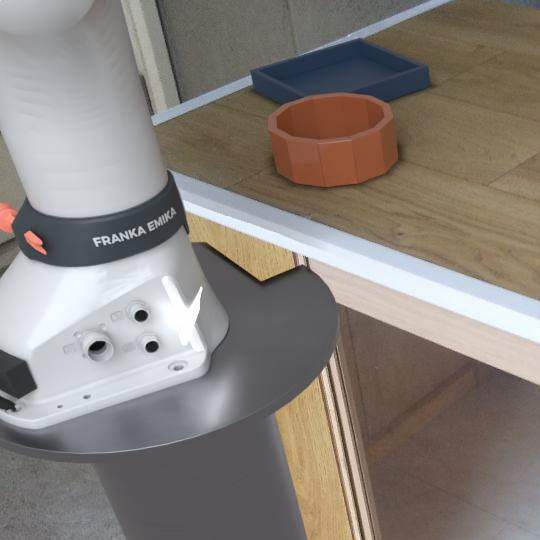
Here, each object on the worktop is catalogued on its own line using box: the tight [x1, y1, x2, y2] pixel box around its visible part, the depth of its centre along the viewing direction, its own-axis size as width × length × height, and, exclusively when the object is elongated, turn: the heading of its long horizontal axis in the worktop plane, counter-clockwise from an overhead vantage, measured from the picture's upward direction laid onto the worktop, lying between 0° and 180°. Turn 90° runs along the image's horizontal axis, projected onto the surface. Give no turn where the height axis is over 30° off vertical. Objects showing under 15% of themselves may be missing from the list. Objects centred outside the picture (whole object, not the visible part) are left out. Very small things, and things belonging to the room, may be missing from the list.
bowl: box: [267, 92, 400, 188], centre depth 114 cm, size 14×14×5 cm
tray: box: [249, 37, 431, 106], centre depth 130 cm, size 18×16×3 cm
